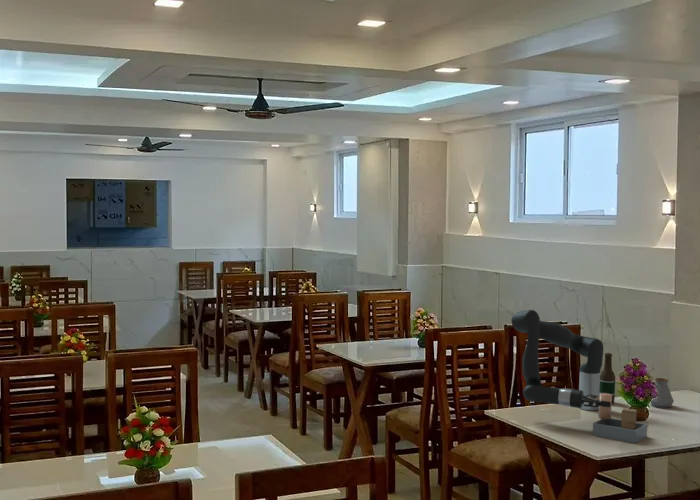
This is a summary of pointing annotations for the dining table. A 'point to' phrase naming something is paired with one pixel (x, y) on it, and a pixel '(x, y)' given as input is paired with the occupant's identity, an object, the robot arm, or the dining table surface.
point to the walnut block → (628, 419)
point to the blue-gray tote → (619, 430)
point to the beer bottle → (607, 377)
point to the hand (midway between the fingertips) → (611, 403)
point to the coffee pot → (662, 394)
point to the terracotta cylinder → (605, 411)
